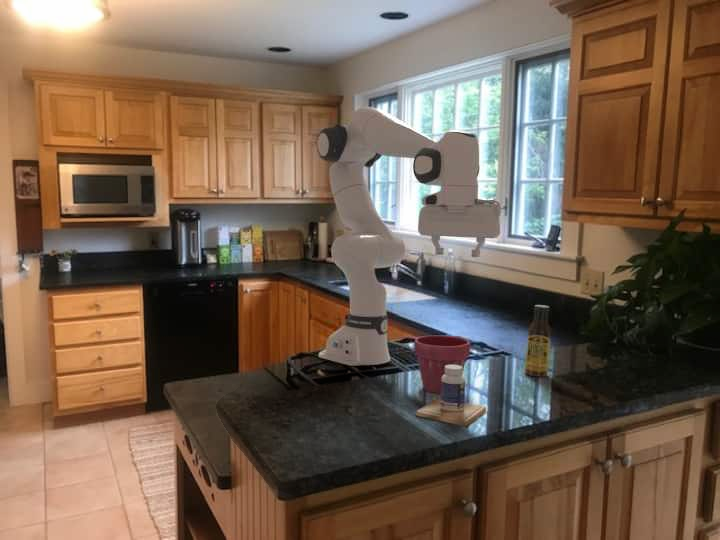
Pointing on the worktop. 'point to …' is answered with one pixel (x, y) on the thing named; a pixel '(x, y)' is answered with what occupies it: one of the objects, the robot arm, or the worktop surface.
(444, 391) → the pill bottle
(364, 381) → the worktop surface
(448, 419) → the wooden coaster
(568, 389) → the worktop surface
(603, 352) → the worktop surface
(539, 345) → the sauce bottle
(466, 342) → the plant pot
